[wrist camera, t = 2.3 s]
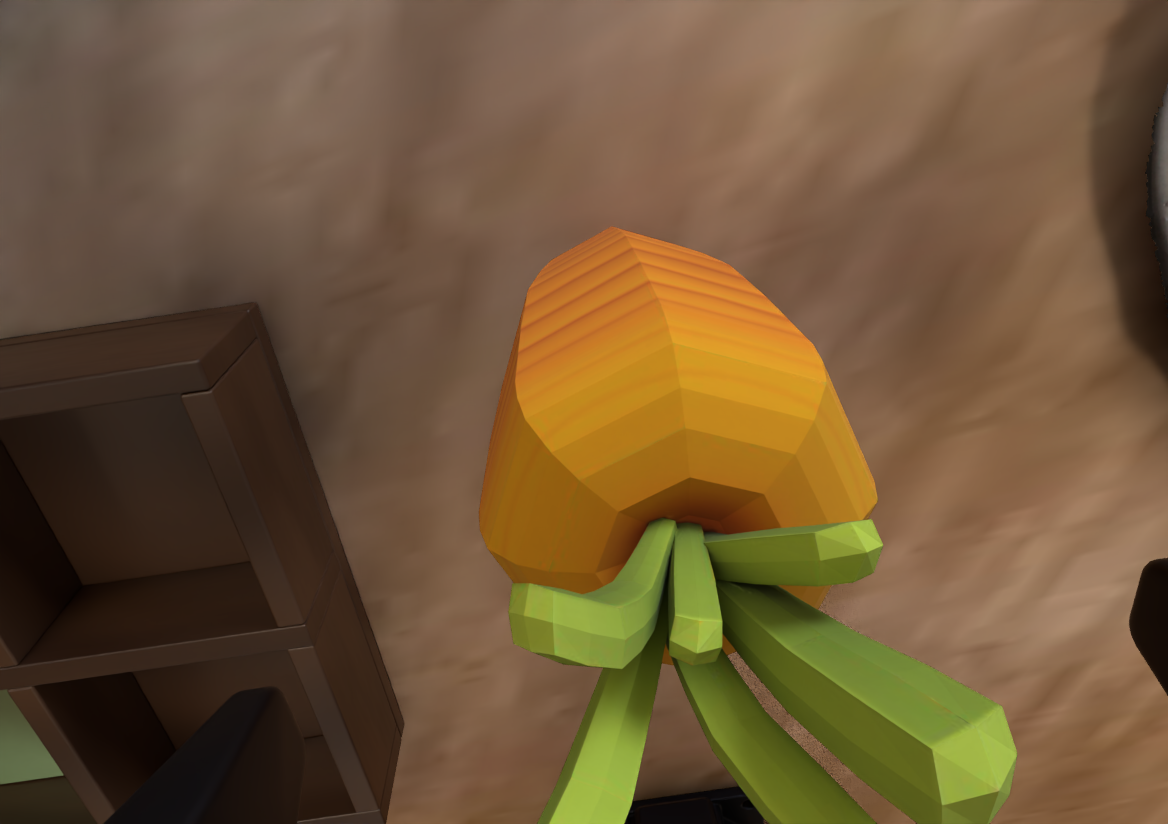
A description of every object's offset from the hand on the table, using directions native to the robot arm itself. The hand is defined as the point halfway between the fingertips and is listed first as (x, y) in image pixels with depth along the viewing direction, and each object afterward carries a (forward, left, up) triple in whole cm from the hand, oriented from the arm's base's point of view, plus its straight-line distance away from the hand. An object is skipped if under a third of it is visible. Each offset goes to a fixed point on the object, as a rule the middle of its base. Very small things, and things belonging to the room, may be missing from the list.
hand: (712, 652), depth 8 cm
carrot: (+1, 0, -12) cm, 12 cm away
